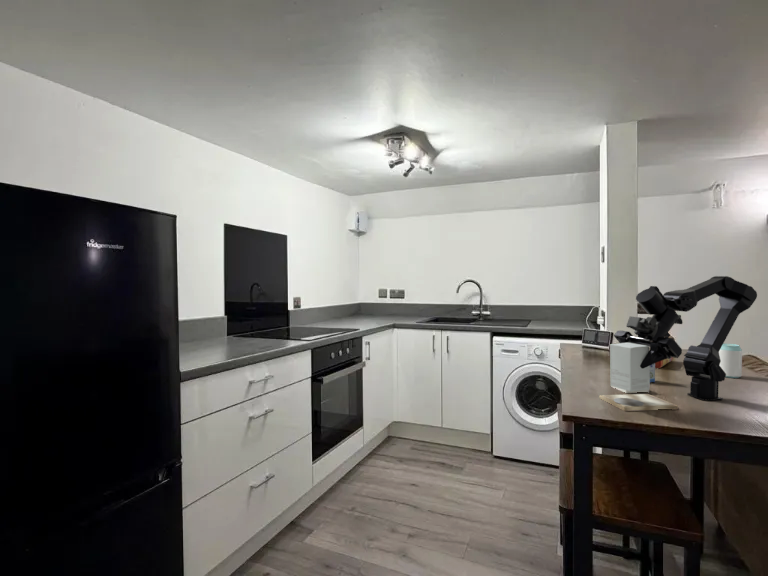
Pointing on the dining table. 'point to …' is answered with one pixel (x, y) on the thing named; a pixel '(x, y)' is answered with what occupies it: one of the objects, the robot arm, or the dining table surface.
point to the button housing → (629, 391)
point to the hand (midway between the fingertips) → (629, 364)
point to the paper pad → (637, 402)
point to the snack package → (663, 362)
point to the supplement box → (629, 367)
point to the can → (731, 360)
